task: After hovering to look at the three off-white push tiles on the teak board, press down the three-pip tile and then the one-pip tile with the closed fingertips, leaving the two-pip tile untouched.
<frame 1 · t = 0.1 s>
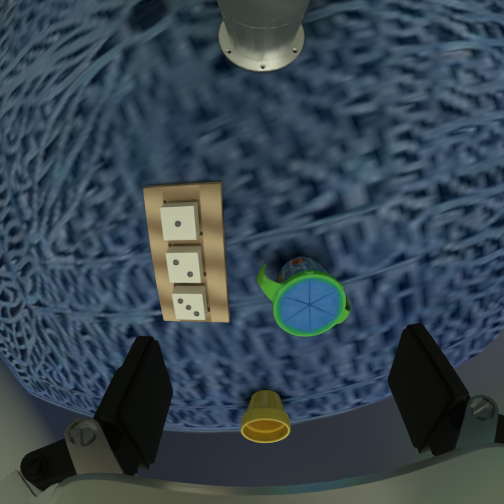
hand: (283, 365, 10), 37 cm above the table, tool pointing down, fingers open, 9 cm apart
tile two: (185, 264, 45), point 4 cm above the table, slide at 0.0 cm
tile one: (180, 221, 43), point 4 cm above the table, slide at 0.0 cm
tile three: (190, 303, 48), point 4 cm above the table, slide at 0.0 cm
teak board: (189, 255, 49), on the table
plant pot: (265, 398, 62), on the table
snack cup: (300, 274, 50), on the table
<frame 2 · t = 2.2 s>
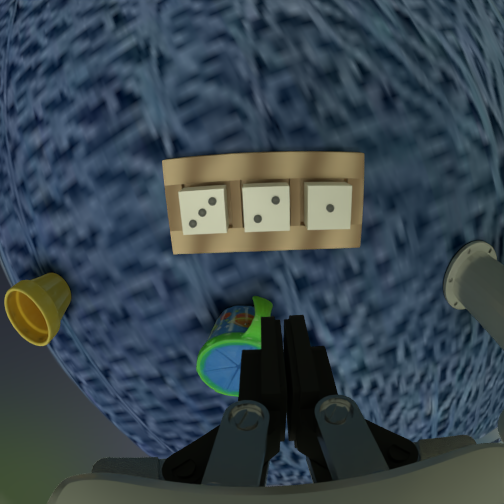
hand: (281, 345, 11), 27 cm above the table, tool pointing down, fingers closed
tile two: (266, 206, 33), point 4 cm above the table, slide at 0.0 cm
tile one: (327, 205, 33), point 4 cm above the table, slide at 0.0 cm
tile three: (204, 209, 33), point 4 cm above the table, slide at 0.0 cm
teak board: (265, 199, 37), on the table
plant pot: (57, 288, 43), on the table
snack cup: (242, 323, 44), on the table
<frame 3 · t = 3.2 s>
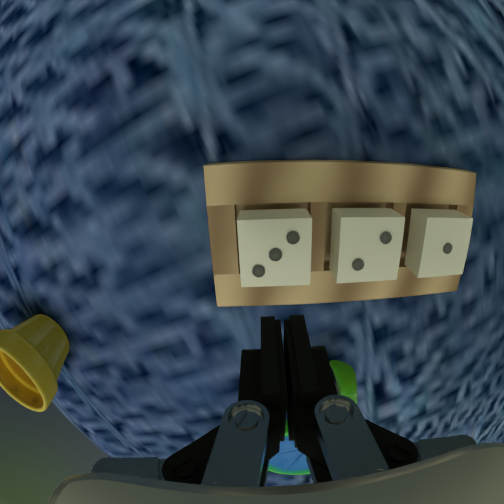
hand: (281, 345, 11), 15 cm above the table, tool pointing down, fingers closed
tile two: (366, 244, 21), point 4 cm above the table, slide at 0.0 cm
tile one: (439, 242, 21), point 4 cm above the table, slide at 0.0 cm
tile three: (274, 247, 22), point 4 cm above the table, slide at 0.0 cm
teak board: (352, 229, 25), on the table
plant pot: (50, 333, 31), on the table
snack cup: (299, 382, 32), on the table
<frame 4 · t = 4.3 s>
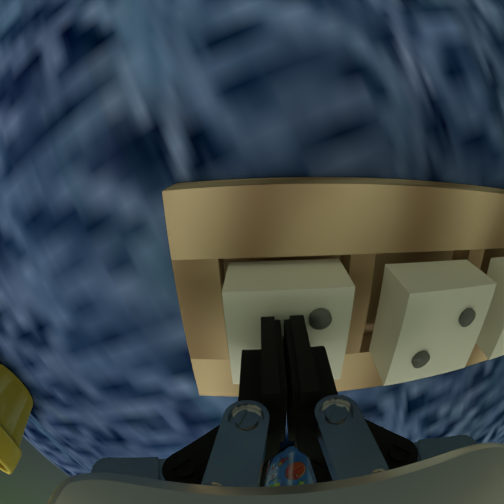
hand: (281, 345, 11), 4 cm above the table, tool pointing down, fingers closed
tile two: (432, 322, 12), point 4 cm above the table, slide at 0.0 cm
tile three: (286, 325, 13), point 3 cm above the table, slide at 0.8 cm, touching gripper
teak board: (403, 285, 15), on the table
plant pot: (11, 382, 22), on the table
snack cup: (310, 454, 23), on the table
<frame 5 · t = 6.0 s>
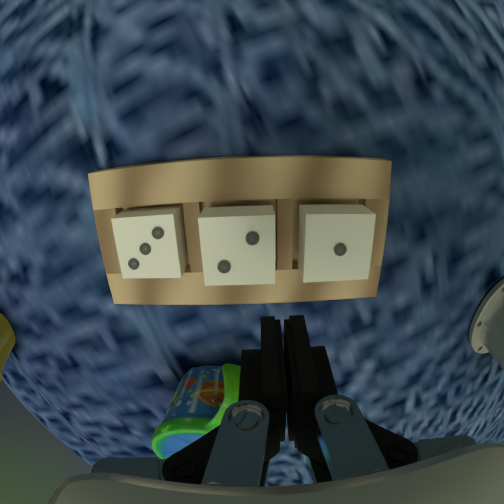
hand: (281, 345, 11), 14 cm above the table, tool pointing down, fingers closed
tile two: (238, 245, 21), point 4 cm above the table, slide at 0.0 cm
tile one: (335, 242, 21), point 4 cm above the table, slide at 0.0 cm
tile three: (150, 242, 22), point 2 cm above the table, slide at 1.3 cm
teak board: (240, 228, 25), on the table
plant pot: (0, 325, 30), on the table
snack cup: (214, 382, 32), on the table
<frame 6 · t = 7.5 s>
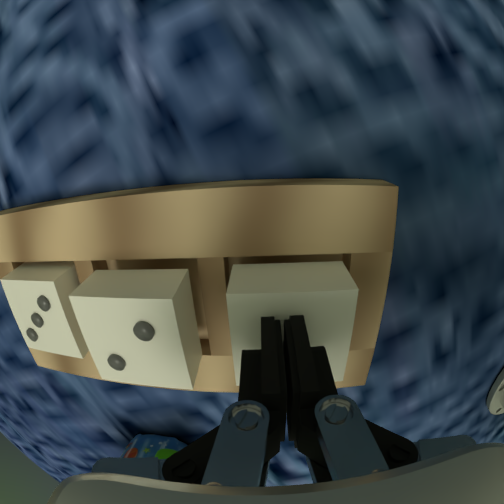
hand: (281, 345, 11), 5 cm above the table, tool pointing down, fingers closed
tile two: (139, 330, 13), point 4 cm above the table, slide at 0.0 cm
tile one: (290, 327, 13), point 3 cm above the table, slide at 0.4 cm, touching gripper
tile three: (49, 308, 14), point 2 cm above the table, slide at 1.3 cm
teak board: (161, 292, 16), on the table
snack cup: (168, 448, 24), on the table
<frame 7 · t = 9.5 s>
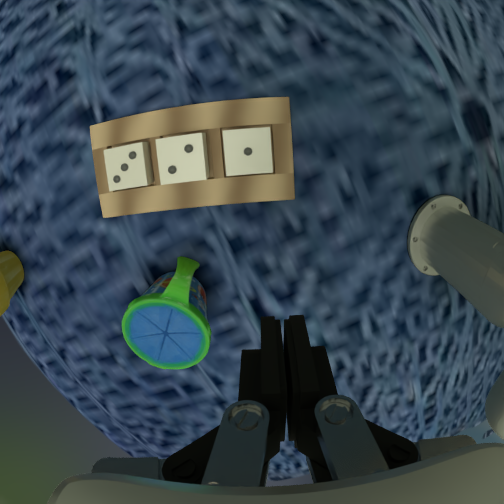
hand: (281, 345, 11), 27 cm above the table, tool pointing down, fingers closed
tile two: (183, 158, 30), point 4 cm above the table, slide at 0.0 cm
tile one: (247, 150, 31), point 2 cm above the table, slide at 1.3 cm
tile three: (128, 165, 32), point 2 cm above the table, slide at 1.3 cm
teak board: (189, 155, 34), on the table
plant pot: (12, 266, 39), on the table
snack cup: (180, 292, 41), on the table
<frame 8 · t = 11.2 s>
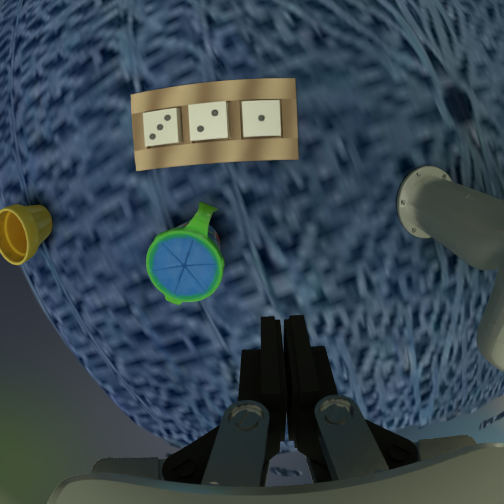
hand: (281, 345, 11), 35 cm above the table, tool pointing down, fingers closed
tile two: (209, 121, 37), point 4 cm above the table, slide at 0.0 cm
tile one: (261, 118, 38), point 2 cm above the table, slide at 1.3 cm
tile three: (162, 127, 38), point 2 cm above the table, slide at 1.3 cm
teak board: (213, 122, 40), on the table
plant pot: (41, 220, 46), on the table
snack cup: (197, 241, 48), on the table
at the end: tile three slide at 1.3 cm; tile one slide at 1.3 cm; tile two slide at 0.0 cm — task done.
